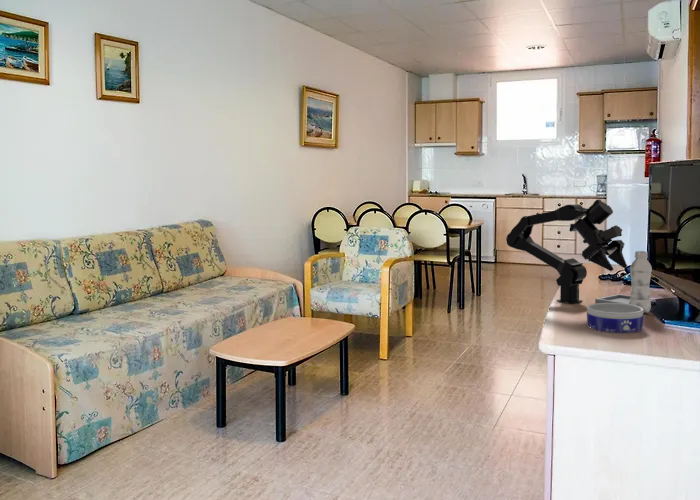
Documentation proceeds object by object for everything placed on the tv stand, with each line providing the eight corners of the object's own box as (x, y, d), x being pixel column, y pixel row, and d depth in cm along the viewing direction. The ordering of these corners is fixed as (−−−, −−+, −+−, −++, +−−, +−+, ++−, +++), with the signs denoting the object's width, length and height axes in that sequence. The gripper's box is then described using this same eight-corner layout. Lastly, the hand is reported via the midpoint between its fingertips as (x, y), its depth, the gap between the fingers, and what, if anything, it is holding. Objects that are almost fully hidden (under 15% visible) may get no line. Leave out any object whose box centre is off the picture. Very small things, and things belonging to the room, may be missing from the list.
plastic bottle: (646, 310, 201) (647, 250, 198) (654, 315, 194) (655, 252, 192) (625, 310, 201) (627, 250, 199) (633, 315, 195) (634, 253, 192)
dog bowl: (609, 335, 171) (610, 314, 170) (575, 324, 185) (576, 304, 185) (655, 330, 175) (655, 310, 174) (618, 320, 189) (618, 300, 189)
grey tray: (632, 309, 204) (632, 304, 204) (595, 302, 215) (595, 298, 215) (655, 303, 212) (655, 299, 211) (618, 298, 223) (618, 294, 223)
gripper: (592, 219, 199) (623, 256, 192) (620, 216, 211) (650, 251, 204) (569, 240, 206) (598, 277, 199) (597, 237, 218) (626, 271, 211)
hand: (619, 268), depth 203 cm, fingers open, 9 cm apart
